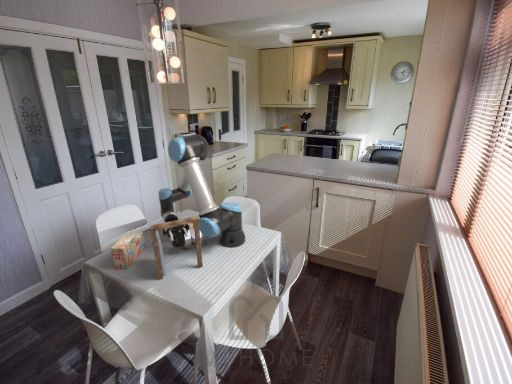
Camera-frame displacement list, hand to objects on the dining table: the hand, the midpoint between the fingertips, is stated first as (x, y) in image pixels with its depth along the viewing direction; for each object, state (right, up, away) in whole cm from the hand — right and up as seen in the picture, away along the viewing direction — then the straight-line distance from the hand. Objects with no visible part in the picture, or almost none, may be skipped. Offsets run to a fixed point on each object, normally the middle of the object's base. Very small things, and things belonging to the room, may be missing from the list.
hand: (179, 236), depth 138 cm
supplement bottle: (-2, -6, +7) cm, 9 cm away
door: (-8, -15, -5) cm, 17 cm away
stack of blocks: (-27, -12, +5) cm, 30 cm away
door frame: (+3, -16, -8) cm, 18 cm away
